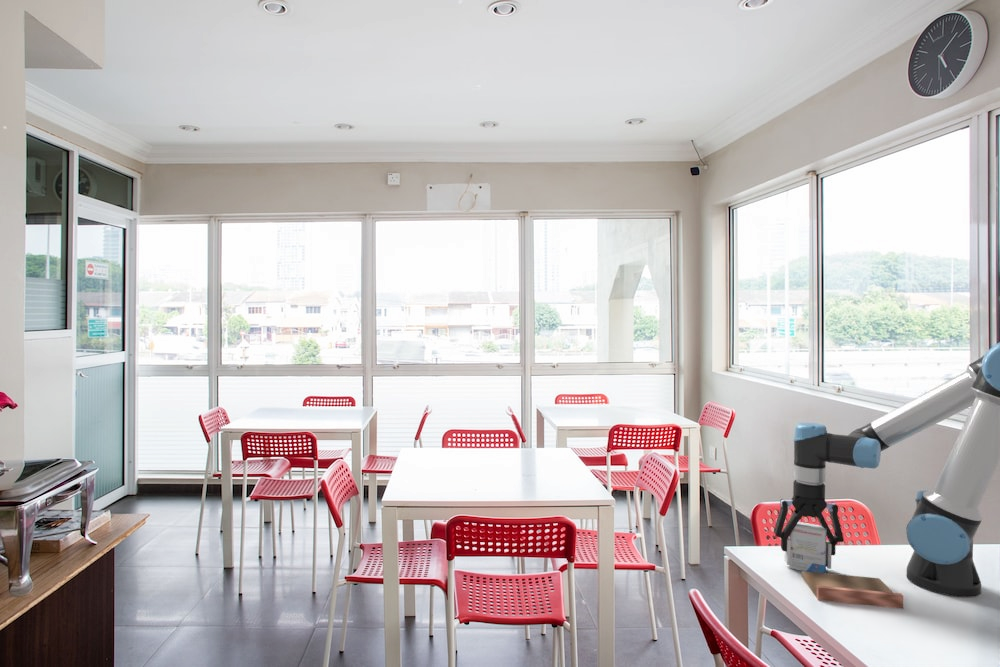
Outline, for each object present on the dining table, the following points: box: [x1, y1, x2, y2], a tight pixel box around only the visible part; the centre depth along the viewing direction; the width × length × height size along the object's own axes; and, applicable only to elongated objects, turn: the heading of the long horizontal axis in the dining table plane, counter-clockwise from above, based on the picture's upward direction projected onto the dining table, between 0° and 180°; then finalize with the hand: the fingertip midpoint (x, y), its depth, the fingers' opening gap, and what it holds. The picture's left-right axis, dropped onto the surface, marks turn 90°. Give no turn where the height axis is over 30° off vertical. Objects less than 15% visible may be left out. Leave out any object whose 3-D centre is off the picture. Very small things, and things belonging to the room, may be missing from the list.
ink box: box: [788, 521, 827, 573], centre depth 157 cm, size 9×5×12 cm, turn 58°
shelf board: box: [801, 570, 904, 610], centre depth 144 cm, size 18×13×3 cm
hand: (807, 564), depth 157 cm, fingers closed on ink box, 9 cm apart
